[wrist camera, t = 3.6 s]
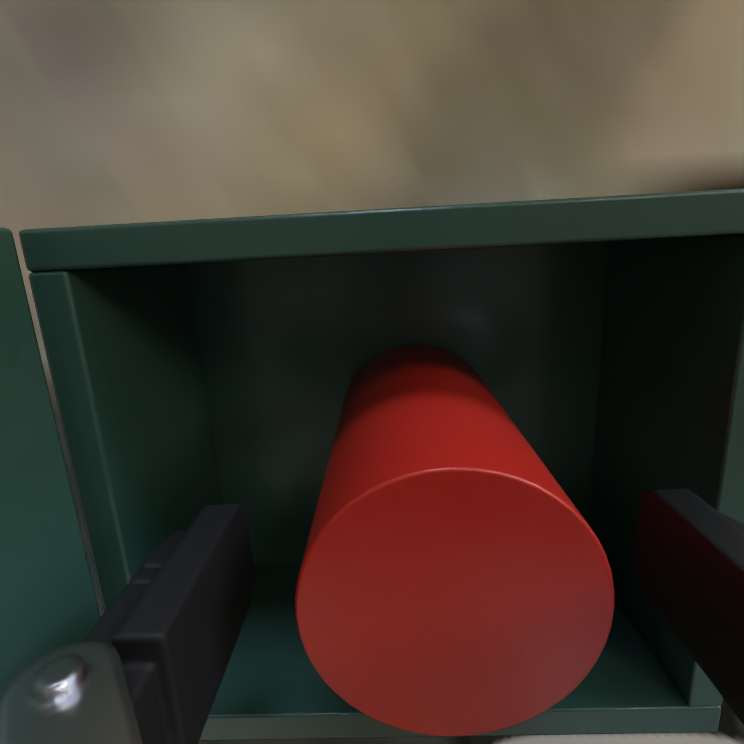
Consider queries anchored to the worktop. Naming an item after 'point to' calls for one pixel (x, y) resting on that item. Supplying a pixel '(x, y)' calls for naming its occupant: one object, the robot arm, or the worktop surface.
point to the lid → (34, 499)
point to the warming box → (358, 347)
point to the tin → (446, 558)
